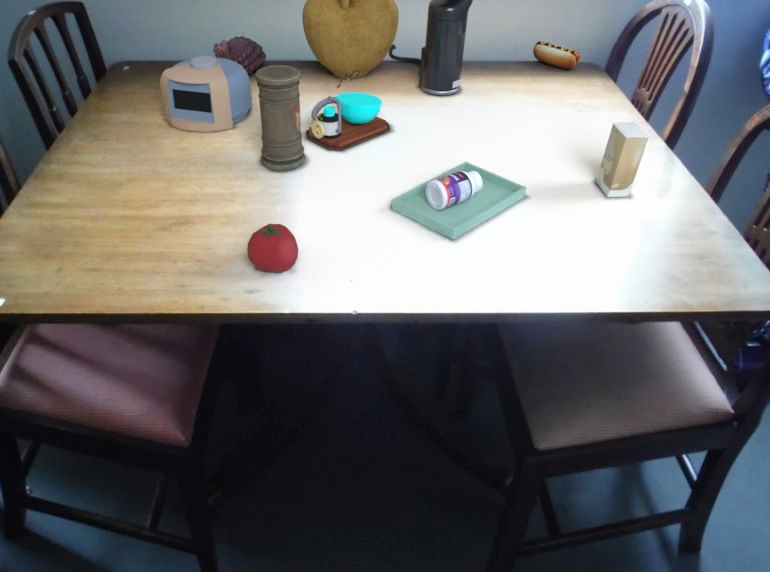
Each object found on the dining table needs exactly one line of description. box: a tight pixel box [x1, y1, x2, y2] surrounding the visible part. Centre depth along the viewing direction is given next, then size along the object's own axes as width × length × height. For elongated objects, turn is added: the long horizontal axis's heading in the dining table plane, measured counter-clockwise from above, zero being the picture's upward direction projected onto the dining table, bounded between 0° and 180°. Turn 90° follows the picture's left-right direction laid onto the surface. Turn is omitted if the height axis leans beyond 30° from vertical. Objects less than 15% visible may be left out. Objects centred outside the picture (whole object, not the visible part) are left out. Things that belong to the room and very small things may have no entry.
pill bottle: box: [426, 171, 482, 210], centre depth 119 cm, size 5×5×10 cm
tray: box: [391, 161, 527, 241], centre depth 121 cm, size 21×14×2 cm
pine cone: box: [212, 35, 267, 75], centre depth 169 cm, size 18×10×10 cm
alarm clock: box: [159, 55, 253, 133], centre depth 148 cm, size 19×20×12 cm
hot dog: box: [532, 40, 581, 70], centre depth 175 cm, size 5×13×5 cm, turn 43°
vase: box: [301, 0, 400, 80], centre depth 162 cm, size 24×24×30 cm
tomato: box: [246, 223, 299, 273], centre depth 104 cm, size 8×8×7 cm
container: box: [254, 64, 306, 172], centre depth 128 cm, size 9×9×18 cm
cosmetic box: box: [595, 121, 650, 198], centre depth 122 cm, size 6×4×12 cm
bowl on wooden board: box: [305, 71, 391, 152], centre depth 140 cm, size 14×18×15 cm
